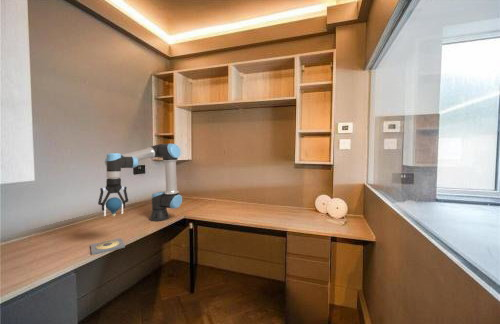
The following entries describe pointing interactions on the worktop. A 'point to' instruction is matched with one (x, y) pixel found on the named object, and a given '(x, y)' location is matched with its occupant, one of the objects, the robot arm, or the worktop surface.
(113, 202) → the light bulb
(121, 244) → the socket board
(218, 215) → the worktop surface
